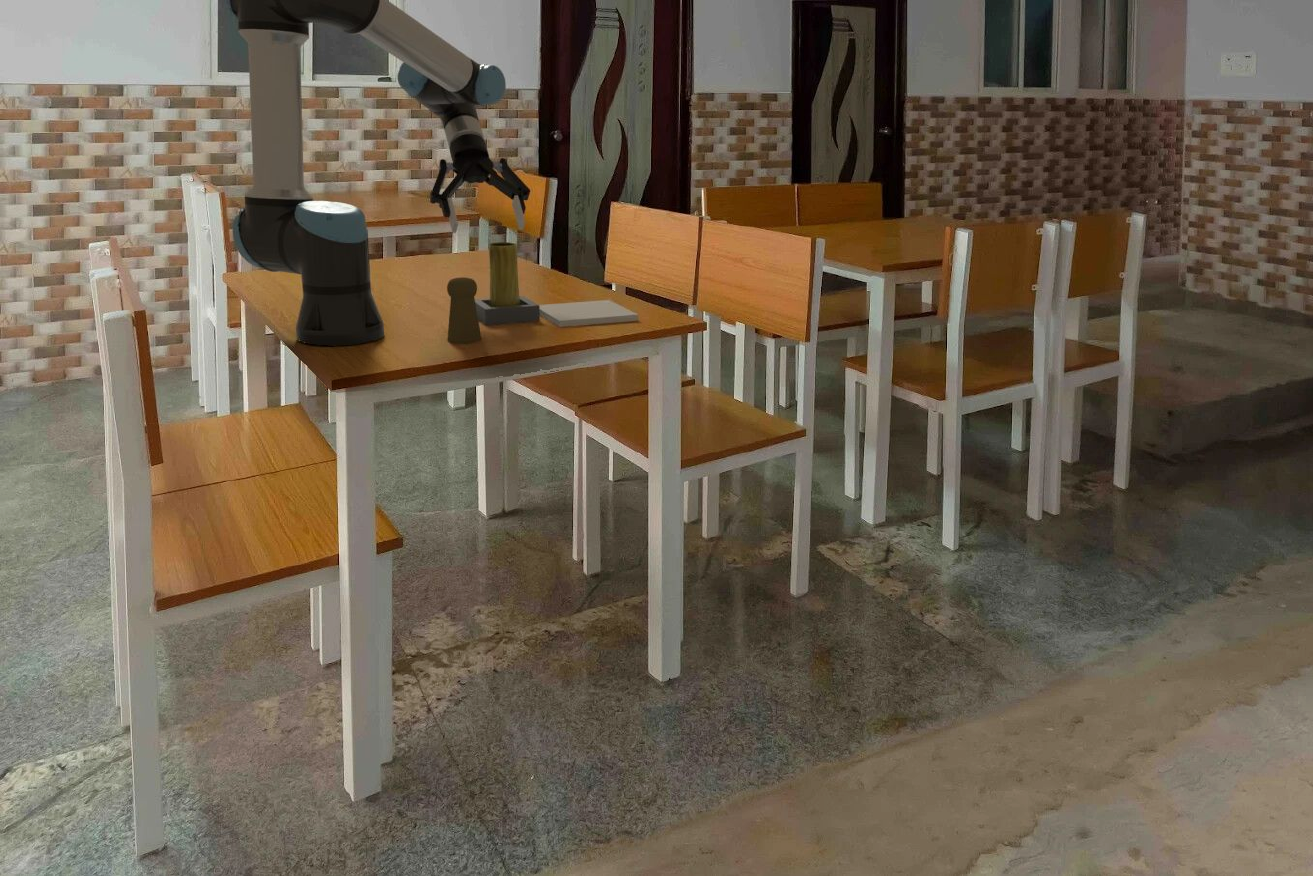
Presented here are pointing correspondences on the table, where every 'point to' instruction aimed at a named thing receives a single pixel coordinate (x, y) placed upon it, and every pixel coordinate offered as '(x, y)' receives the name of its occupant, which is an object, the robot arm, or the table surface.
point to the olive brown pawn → (463, 312)
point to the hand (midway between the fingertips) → (489, 226)
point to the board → (586, 313)
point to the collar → (507, 312)
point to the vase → (503, 274)
